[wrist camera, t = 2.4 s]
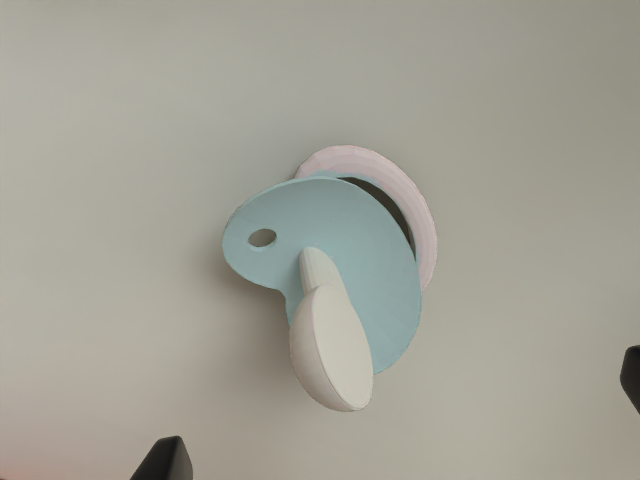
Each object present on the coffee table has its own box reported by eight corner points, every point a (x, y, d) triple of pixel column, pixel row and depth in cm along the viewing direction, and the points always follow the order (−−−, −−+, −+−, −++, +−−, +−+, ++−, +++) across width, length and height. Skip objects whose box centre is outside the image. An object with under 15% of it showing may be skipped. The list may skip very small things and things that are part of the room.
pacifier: (364, 95, 14) (198, 206, 14) (454, 152, 8) (176, 328, 9) (460, 270, 17) (321, 354, 18) (569, 395, 12) (361, 511, 12)
